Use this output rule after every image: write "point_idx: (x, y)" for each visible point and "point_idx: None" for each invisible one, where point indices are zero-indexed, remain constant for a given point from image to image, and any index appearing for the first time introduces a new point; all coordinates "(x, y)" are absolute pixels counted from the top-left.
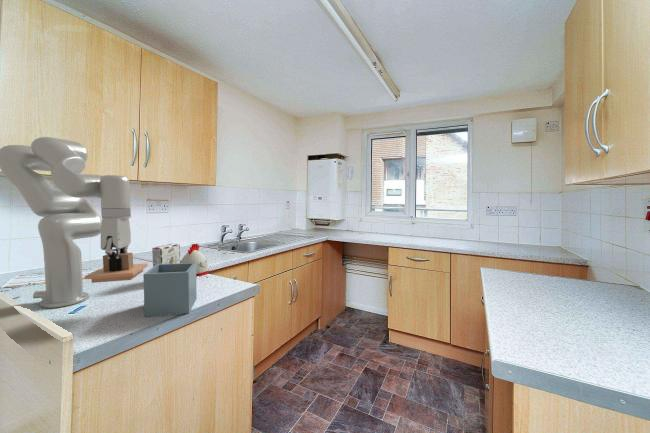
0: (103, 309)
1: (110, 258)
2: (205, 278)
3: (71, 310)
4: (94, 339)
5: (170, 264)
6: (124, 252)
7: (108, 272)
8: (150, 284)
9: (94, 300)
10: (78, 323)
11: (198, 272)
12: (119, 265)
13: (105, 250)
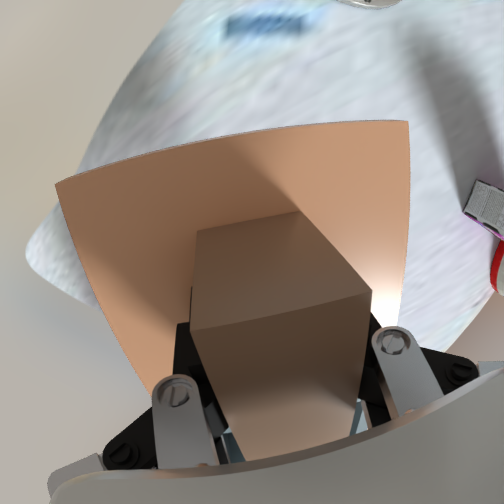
0: (259, 119)
1: (160, 402)
2: (470, 304)
3: (257, 9)
4: (53, 255)
5: (358, 423)
6: (365, 413)
7: (162, 293)
8: None
9: (357, 36)
10: (132, 121)
11: (498, 285)
12: None
13: (50, 495)
